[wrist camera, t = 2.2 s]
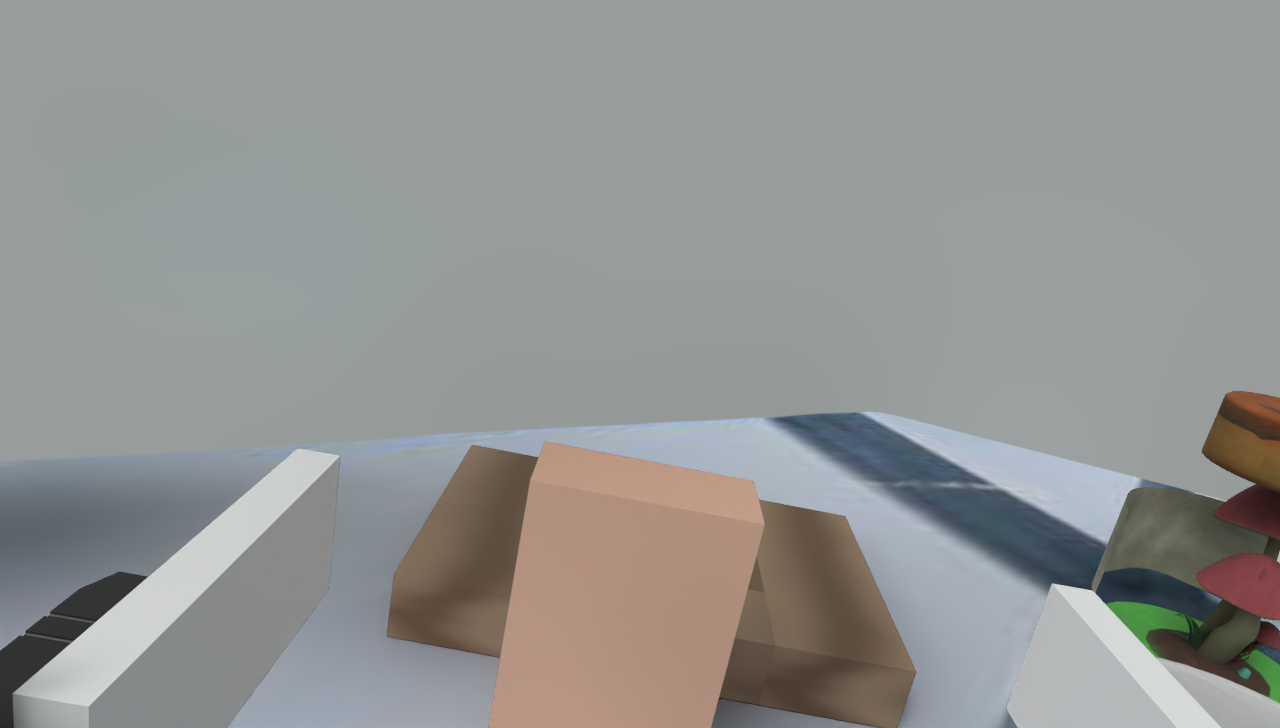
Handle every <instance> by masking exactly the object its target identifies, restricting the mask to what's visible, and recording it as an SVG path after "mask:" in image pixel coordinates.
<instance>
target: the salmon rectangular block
mask: <svg viewBox="0 0 1280 728" xmlns="http://www.w3.org/2000/svg"><path fill="white" fill-rule="evenodd" d="M764 526H765V523H764V519H763V515H762V511H761V507H760V503H759V499H758V495H757V491H756V487H755V483H754V481H749V480H744V479H739V478H734V477H728V476H723V475H718V474H713V473H708V472H702V471H697V470H692V469H687V468H681V467H676V466H671V465H666V464H661V463H655V462H650V461H645V460H640V459H634V458H629V457H624V456H619V455H614V454H608V453H603V452H598V451H593V450H587V449H582V448H577V447H572V446H567V445H561V444H556V443H551V442H546V441H545V442H544V445H543V448H542V450H541V453H540V455H539V458H538V461H537V463H536V466H535V469H534V471H533V474H532V477H531V479H530V484H529V490H528V496H527V502H526V508H525V514H524V520H523V526H522V532H521V537H520V543H519V549H518V555H517V561H516V567H515V573H514V579H513V585H512V591H511V597H510V603H509V608H508V614H507V620H506V626H505V632H504V638H503V644H502V650H501V656H500V662H499V668H498V674H497V679H496V685H495V691H494V697H493V703H492V709H491V715H490V721H489V727H488V728H711V726H712V722H713V718H714V715H715V711H716V707H717V703H718V699H719V696H720V692H721V688H722V684H723V681H724V677H725V673H726V669H727V665H728V662H729V658H730V654H731V650H732V647H733V643H734V639H735V635H736V632H737V628H738V624H739V620H740V616H741V613H742V609H743V605H744V601H745V598H746V594H747V590H748V586H749V582H750V579H751V575H752V571H753V567H754V564H755V560H756V556H757V552H758V548H759V545H760V541H761V537H762V533H763V530H764Z"/></svg>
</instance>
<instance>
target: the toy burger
mask: <svg viewBox="0 0 1280 728" xmlns="http://www.w3.org/2000/svg"><path fill="white" fill-rule="evenodd" d="M1202 453H1203V454H1204V456H1205V457H1206V458H1208V459H1209V460H1210V461H1212V462H1213V463H1215V464H1216V465H1218V466H1220V467H1222V468H1223V469H1225V470H1227V471H1229V472H1231V473H1233V474H1235V475H1237V476H1239V477H1242V478H1244V479H1246V480H1248V481H1251V482H1253V483H1256V485H1253V486H1251V487H1249V488H1247V489H1245V490H1244V491H1242V492H1240V493H1238V494H1237V495H1235V496H1234V497H1232V498H1230V499H1229V500H1228V501H1226V502H1223V501H1220V500H1216V499H1213V498H1209V497H1206V496H1202V495H1198V494H1193V493H1189V492H1184V491H1178V490H1173V489H1167V488H1157V487H1147V488H1137V489H1133V490H1131V491H1130V492H1129V493H1128V495H1127V498H1126V500H1125V503H1124V505H1123V508H1122V510H1121V513H1120V515H1119V518H1118V520H1117V523H1116V525H1115V528H1114V530H1113V532H1112V535H1111V537H1110V540H1109V542H1108V545H1107V547H1106V549H1105V552H1104V554H1103V556H1102V559H1101V562H1100V564H1099V567H1098V569H1097V572H1096V574H1095V577H1094V579H1093V582H1092V591H1093V592H1094V593H1096V590H1097V588H1098V585H1099V583H1100V580H1101V578H1102V576H1103V573H1104V572H1108V571H1113V570H1118V569H1124V568H1145V569H1150V570H1155V571H1158V572H1161V573H1164V574H1167V575H1169V576H1172V577H1174V578H1176V579H1178V580H1181V581H1183V582H1185V583H1187V584H1189V585H1192V586H1194V587H1196V588H1199V589H1201V590H1204V591H1206V592H1208V593H1211V594H1213V595H1215V596H1217V597H1219V598H1221V599H1223V600H1222V601H1221V602H1220V603H1219V605H1218V606H1217V607H1216V608H1215V610H1214V611H1213V612H1212V613H1211V615H1210V616H1209V617H1208V618H1207V620H1206V621H1205V622H1201V621H1199V620H1196V619H1194V618H1191V617H1189V616H1188V615H1186V614H1185V613H1183V612H1181V611H1179V612H1181V613H1177V612H1174V611H1171V610H1167V609H1164V608H1160V607H1156V606H1152V605H1147V604H1142V603H1135V602H1112V603H1107V604H1106V605H1107V606H1108V608H1109V609H1110V610H1111V611H1112V612H1113V613H1114V614H1115V615H1116V616H1117V617H1118V618H1119V619H1120V620H1121V621H1122V622H1123V624H1124V625H1125V626H1126V627H1127V628H1128V629H1129V630H1130V631H1131V632H1132V633H1133V634H1134V635H1135V636H1136V637H1137V638H1138V639H1139V641H1140V642H1141V643H1142V644H1143V645H1144V646H1145V647H1146V648H1147V649H1148V650H1149V651H1150V652H1151V653H1152V654H1153V655H1154V657H1155V658H1163V659H1166V660H1170V661H1173V662H1177V663H1181V664H1184V665H1188V666H1191V667H1193V668H1196V669H1199V670H1202V671H1205V672H1208V673H1211V674H1214V675H1217V676H1220V677H1222V678H1225V679H1227V680H1229V681H1232V682H1234V683H1237V684H1239V685H1241V686H1244V687H1246V688H1248V689H1251V690H1253V691H1255V692H1257V693H1259V694H1262V695H1264V696H1266V697H1268V698H1270V699H1272V700H1274V701H1276V702H1278V703H1280V665H1278V664H1277V663H1276V662H1274V661H1273V660H1272V659H1270V658H1269V657H1267V656H1266V655H1264V654H1263V653H1261V652H1259V651H1258V650H1256V649H1257V648H1259V647H1260V646H1261V645H1262V644H1265V645H1268V646H1270V647H1273V648H1277V649H1280V631H1279V630H1278V629H1277V628H1276V627H1275V626H1274V625H1273V624H1271V623H1269V622H1265V621H1260V617H1261V618H1264V619H1270V620H1280V563H1278V562H1277V558H1278V554H1279V551H1280V398H1278V397H1273V396H1269V395H1264V394H1258V393H1253V392H1244V391H1232V392H1230V393H1227V394H1226V395H1225V397H1224V399H1223V402H1222V404H1221V406H1220V409H1219V411H1218V413H1217V416H1216V418H1215V420H1214V423H1213V425H1212V428H1211V430H1210V432H1209V434H1208V437H1207V439H1206V442H1205V444H1204V446H1203V449H1202ZM1254 639H1255V640H1256V641H1255V642H1254V643H1253V642H1252V641H1253V640H1254ZM1249 644H1250V645H1249Z"/></svg>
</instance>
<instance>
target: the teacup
mask: <svg viewBox="0 0 1280 728" xmlns="http://www.w3.org/2000/svg"><path fill="white" fill-rule="evenodd" d="M1156 659H1157V660H1158V661H1159V662H1160V663H1161V664H1162V665H1163V666H1164V667H1165V668H1166V669H1167V670H1168V671H1169V673H1170V674H1171V675H1172V676H1173V677H1174V678H1175V679H1176V680H1177V681H1178V682H1179V683H1180V684H1181V685H1182V686H1183V687H1184V688H1185V690H1186V691H1187V692H1188V693H1189V694H1190V695H1191V696H1192V697H1193V698H1194V699H1195V700H1196V701H1197V702H1198V703H1199V704H1200V706H1201V707H1202V708H1203V709H1204V710H1205V711H1206V712H1207V713H1208V714H1209V715H1210V716H1211V717H1212V718H1213V719H1214V720H1215V721H1216V723H1217V724H1218V725H1219V726H1220V727H1221V728H1280V703H1278V702H1276V701H1274V700H1272V699H1270V698H1268V697H1266V696H1264V695H1262V694H1259V693H1257V692H1255V691H1253V690H1251V689H1248V688H1246V687H1244V686H1241V685H1239V684H1237V683H1234V682H1232V681H1229V680H1227V679H1225V678H1222V677H1220V676H1217V675H1214V674H1211V673H1208V672H1205V671H1202V670H1199V669H1196V668H1193V667H1191V666H1188V665H1184V664H1181V663H1177V662H1173V661H1170V660H1166V659H1163V658H1156Z"/></svg>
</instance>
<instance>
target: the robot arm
mask: <svg viewBox="0 0 1280 728" xmlns="http://www.w3.org/2000/svg"><path fill="white" fill-rule="evenodd" d="M339 466H340V456H339V455H333V454H328V453H322V452H317V451H311V450H305V449H300V448H298V449H296V450H295V451H294V452H293V453H292V454H291V455H289V456H288V457H287V458H286V459H285V460H284V461H282V462H281V463H280V464H279V465H278V466H277V467H276V468H274V469H273V470H272V471H271V472H270V473H269V474H267V475H266V476H265V477H264V478H263V479H262V480H260V481H259V482H258V483H257V484H256V485H255V486H253V487H252V488H251V489H250V490H249V491H248V492H246V493H245V494H244V495H243V496H242V497H241V498H239V499H238V500H237V501H236V502H235V503H234V504H232V505H231V506H230V507H229V508H228V509H227V510H225V511H224V512H223V513H222V514H221V515H220V516H219V517H217V518H216V519H215V520H214V521H213V522H212V523H210V524H209V525H208V526H207V527H206V528H205V529H203V530H202V531H201V532H200V533H199V534H198V535H196V536H195V537H194V538H193V539H192V540H191V541H189V542H188V543H187V544H186V545H185V546H184V547H182V548H181V549H180V550H179V551H178V552H177V553H175V554H174V555H173V556H172V557H171V558H170V559H169V560H167V561H166V562H165V563H164V564H163V565H162V566H160V567H159V568H158V569H157V570H156V571H155V572H153V573H152V574H151V575H150V576H149V577H147V576H141V575H135V574H130V573H124V572H118V573H115V574H113V575H111V576H108V577H106V578H104V579H101V580H99V581H97V582H94V583H92V584H90V585H87V586H85V587H83V588H81V589H79V590H78V591H76V592H75V593H74V594H73V595H71V596H70V597H69V598H67V599H66V600H65V601H64V602H62V603H61V604H60V605H58V606H57V607H56V608H55V609H53V610H52V611H51V612H50V615H49V616H48V617H46V616H44V617H43V618H42V619H40V620H39V621H38V622H37V623H35V624H34V625H33V626H31V627H30V628H29V629H28V630H26V633H25V635H24V636H19V637H17V638H16V639H15V640H14V641H12V642H11V643H10V644H8V645H7V646H6V647H5V648H3V649H2V650H1V651H0V728H227V727H228V726H229V725H230V723H231V722H232V721H233V719H234V718H235V717H236V715H237V714H238V712H239V711H240V710H241V708H242V707H243V706H244V704H245V703H246V702H247V700H248V699H249V698H250V696H251V695H252V693H253V692H254V691H255V689H256V688H257V687H258V685H259V684H260V683H261V681H262V680H263V678H264V677H265V676H266V674H267V673H268V672H269V670H270V669H271V668H272V666H273V665H274V663H275V662H276V661H277V659H278V658H279V657H280V655H281V654H282V653H283V651H284V650H285V648H286V647H287V646H288V644H289V643H290V642H291V640H292V639H293V638H294V636H295V635H296V634H297V632H298V631H299V629H300V628H301V627H302V625H303V624H304V623H305V621H306V620H307V619H308V617H309V616H310V614H311V613H312V612H313V610H314V609H315V608H316V606H317V605H318V604H319V602H320V601H321V599H322V598H323V597H324V595H325V594H326V593H327V591H328V590H329V582H330V570H331V559H332V547H333V536H334V524H335V513H336V501H337V490H338V478H339ZM1006 709H1007V710H1008V712H1009V714H1010V715H1011V717H1012V719H1013V720H1014V722H1015V724H1016V725H1017V727H1018V728H1221V727H1220V726H1219V725H1218V724H1217V723H1216V721H1215V720H1214V719H1213V718H1212V717H1211V716H1210V715H1209V714H1208V713H1207V712H1206V711H1205V710H1204V709H1203V708H1202V707H1201V706H1200V704H1199V703H1198V702H1197V701H1196V700H1195V699H1194V698H1193V697H1192V696H1191V695H1190V694H1189V693H1188V692H1187V691H1186V690H1185V688H1184V687H1183V686H1182V685H1181V684H1180V683H1179V682H1178V681H1177V680H1176V679H1175V678H1174V677H1173V676H1172V675H1171V674H1170V673H1169V671H1168V670H1167V669H1166V668H1165V667H1164V666H1163V665H1162V664H1161V663H1160V662H1159V661H1158V660H1157V659H1156V658H1155V657H1154V655H1153V654H1152V653H1151V652H1150V651H1149V650H1148V649H1147V648H1146V647H1145V646H1144V645H1143V644H1142V643H1141V642H1140V641H1139V639H1138V638H1137V637H1136V636H1135V635H1134V634H1133V633H1132V632H1131V631H1130V630H1129V629H1128V628H1127V627H1126V626H1125V625H1124V624H1123V622H1122V621H1121V620H1120V619H1119V618H1118V617H1117V616H1116V615H1115V614H1114V613H1113V612H1112V611H1111V610H1110V609H1109V608H1108V606H1107V605H1106V604H1105V603H1104V602H1103V601H1102V600H1101V599H1100V598H1099V597H1098V596H1097V595H1096V594H1095V593H1094V592H1093V591H1091V590H1086V589H1080V588H1074V587H1069V586H1063V585H1058V584H1052V585H1051V588H1050V591H1049V593H1048V596H1047V599H1046V602H1045V604H1044V607H1043V610H1042V612H1041V615H1040V618H1039V621H1038V623H1037V626H1036V629H1035V632H1034V634H1033V637H1032V640H1031V643H1030V645H1029V648H1028V651H1027V654H1026V656H1025V659H1024V662H1023V665H1022V667H1021V670H1020V673H1019V676H1018V678H1017V681H1016V684H1015V687H1014V689H1013V692H1012V695H1011V697H1010V700H1009V703H1008V706H1007V708H1006Z"/></svg>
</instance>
